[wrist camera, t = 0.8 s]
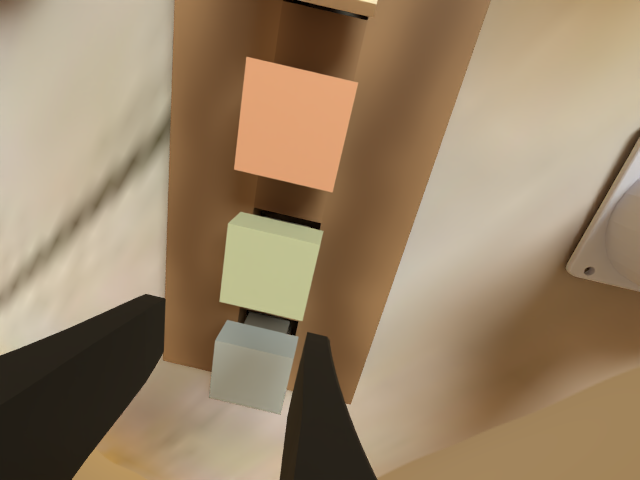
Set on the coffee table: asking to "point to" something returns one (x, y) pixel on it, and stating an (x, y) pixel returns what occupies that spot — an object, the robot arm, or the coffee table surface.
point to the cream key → (349, 5)
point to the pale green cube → (269, 265)
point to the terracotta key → (293, 124)
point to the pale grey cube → (253, 362)
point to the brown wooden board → (297, 200)
